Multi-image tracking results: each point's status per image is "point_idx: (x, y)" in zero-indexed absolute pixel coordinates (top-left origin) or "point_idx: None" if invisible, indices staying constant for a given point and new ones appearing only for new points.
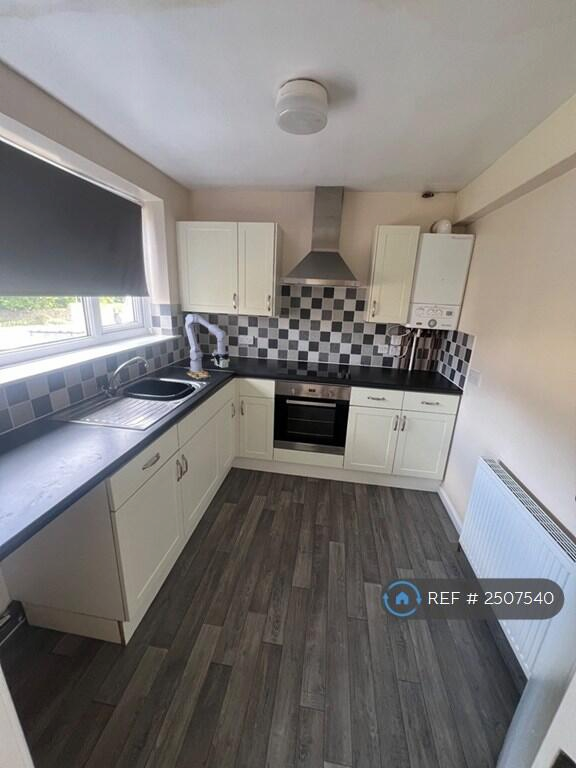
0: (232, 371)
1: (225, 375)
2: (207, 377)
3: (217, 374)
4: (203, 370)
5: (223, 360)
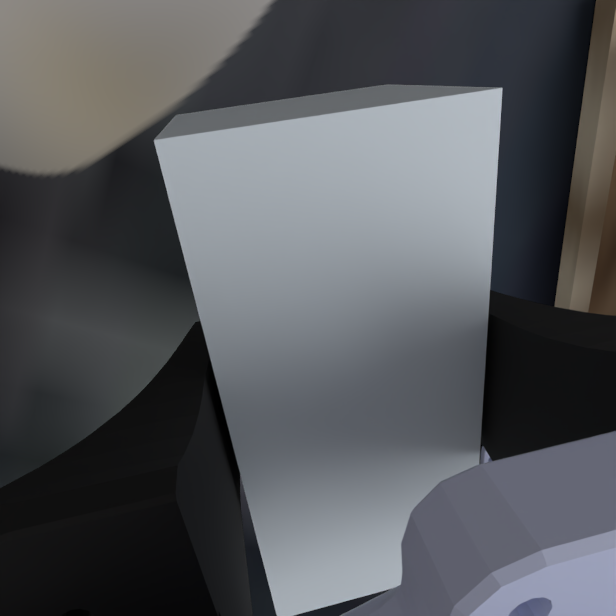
0: (34, 316)
1: (281, 19)
2: None
3: None
4: (487, 454)
5: (368, 244)
